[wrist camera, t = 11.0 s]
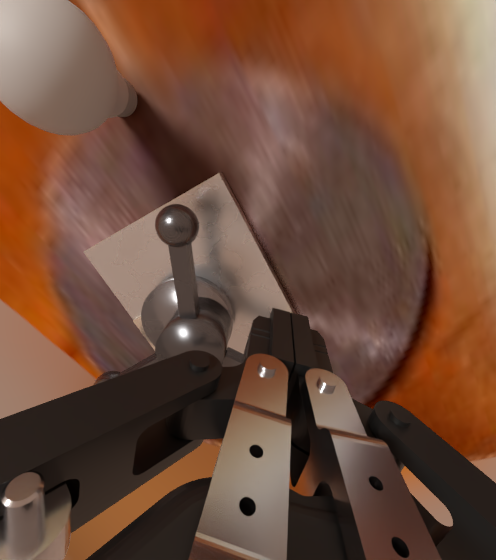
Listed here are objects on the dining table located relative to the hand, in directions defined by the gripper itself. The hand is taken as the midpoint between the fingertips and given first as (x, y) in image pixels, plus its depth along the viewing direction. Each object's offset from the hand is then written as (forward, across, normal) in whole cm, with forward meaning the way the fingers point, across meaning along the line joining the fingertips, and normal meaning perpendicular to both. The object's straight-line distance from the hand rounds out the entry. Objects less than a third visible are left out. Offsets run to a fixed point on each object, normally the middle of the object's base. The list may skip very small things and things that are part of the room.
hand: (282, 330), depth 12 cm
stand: (+14, +5, +7) cm, 17 cm away
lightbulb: (+14, +15, -8) cm, 22 cm away
